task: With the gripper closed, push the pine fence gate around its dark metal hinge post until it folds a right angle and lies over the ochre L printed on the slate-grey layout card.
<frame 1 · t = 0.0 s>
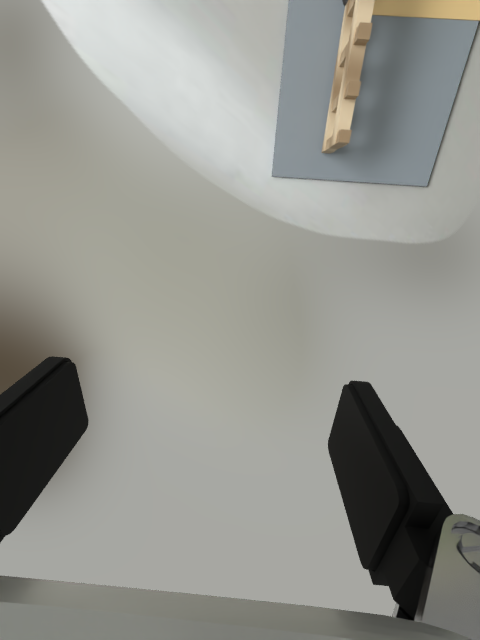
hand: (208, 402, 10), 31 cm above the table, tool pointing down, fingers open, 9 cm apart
fence fixed: (349, 0, 27), resting on layout card
layout card: (376, 42, 28), on the table
fence gate: (346, 74, 26), point 5 cm above the table, hinge at 0.0°
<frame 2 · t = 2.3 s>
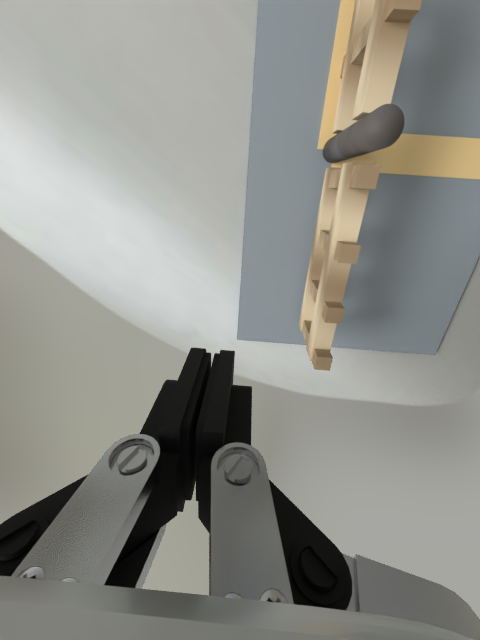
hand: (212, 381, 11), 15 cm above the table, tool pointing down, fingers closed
fence fixed: (332, 151, 20), resting on layout card
layout card: (369, 199, 21), on the table
fence gate: (327, 266, 19), point 5 cm above the table, hinge at 0.0°
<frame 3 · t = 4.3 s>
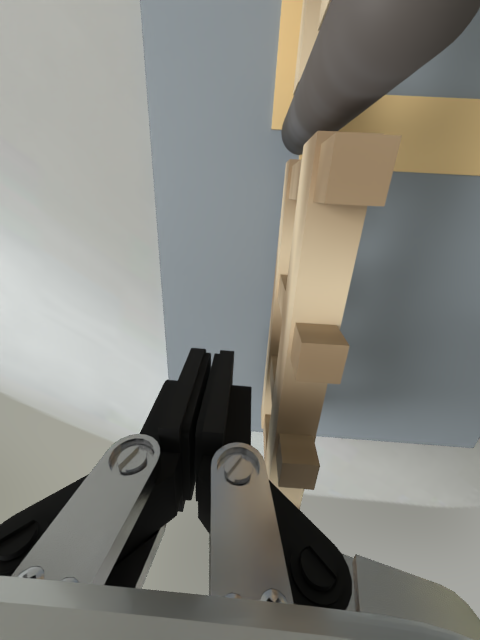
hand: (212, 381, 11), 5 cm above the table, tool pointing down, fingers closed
fence fixed: (300, 133, 11), resting on layout card
layout card: (368, 217, 12), on the table
fence gate: (291, 346, 10), point 5 cm above the table, hinge at 0.3°, touching gripper
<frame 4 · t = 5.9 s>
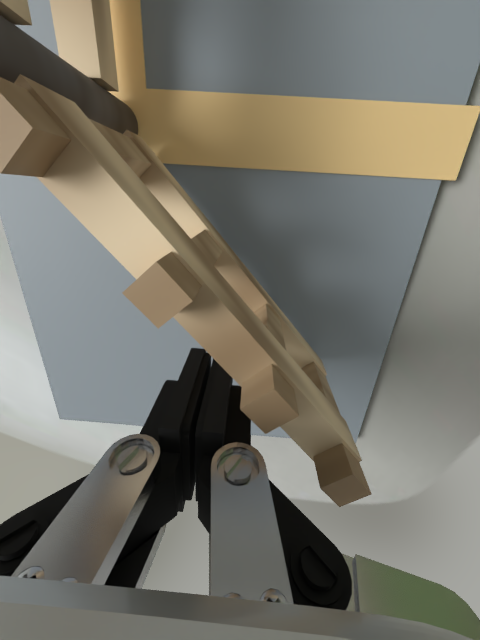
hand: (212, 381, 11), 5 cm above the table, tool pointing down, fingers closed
fence fixed: (124, 128, 11), resting on layout card
layout card: (208, 212, 12), on the table
fence gate: (227, 297, 9), point 5 cm above the table, hinge at 42.5°, touching gripper
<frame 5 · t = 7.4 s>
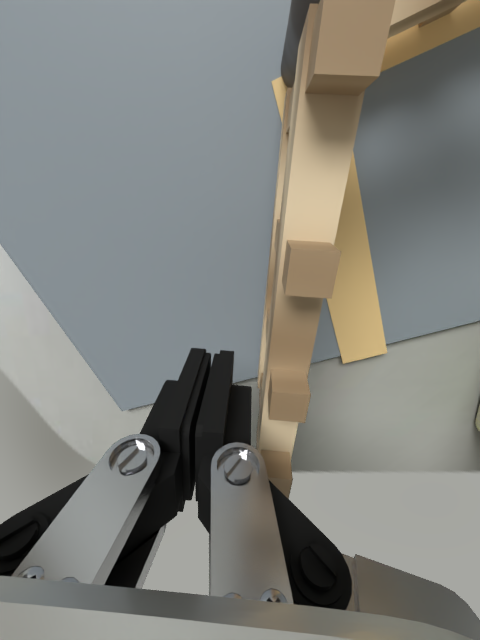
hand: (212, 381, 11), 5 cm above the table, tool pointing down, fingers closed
fence fixed: (300, 71, 10), resting on layout card
layout card: (256, 195, 12), on the table
fence gate: (287, 289, 10), point 5 cm above the table, hinge at 66.7°, touching gripper
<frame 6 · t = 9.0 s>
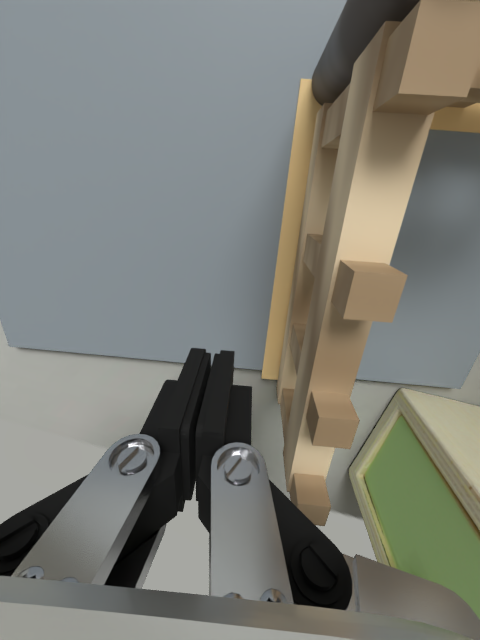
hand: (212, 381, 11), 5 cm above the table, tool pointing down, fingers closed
fence fixed: (329, 86, 10), resting on layout card
layout card: (244, 182, 12), on the table
fence gate: (320, 306, 9), point 5 cm above the table, hinge at 90.8°
toy refrigerator: (410, 437, 18), on the table
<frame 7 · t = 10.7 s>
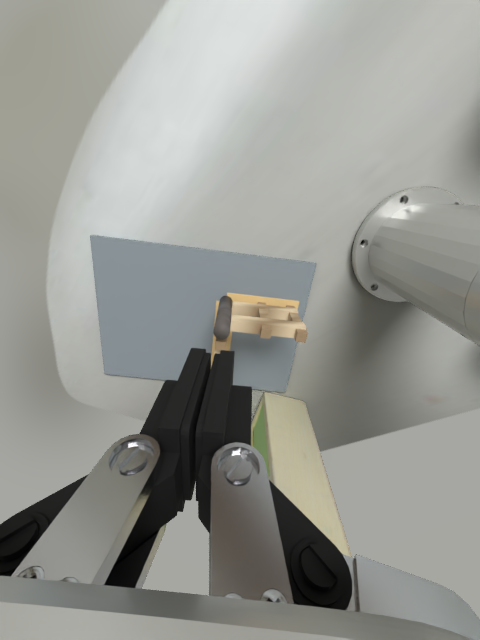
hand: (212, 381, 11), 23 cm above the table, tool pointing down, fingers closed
fence fixed: (226, 300, 34), resting on layout card
layout card: (200, 322, 35), on the table
fence gate: (219, 369, 33), point 5 cm above the table, hinge at 90.8°
toy refrigerator: (273, 413, 42), on the table
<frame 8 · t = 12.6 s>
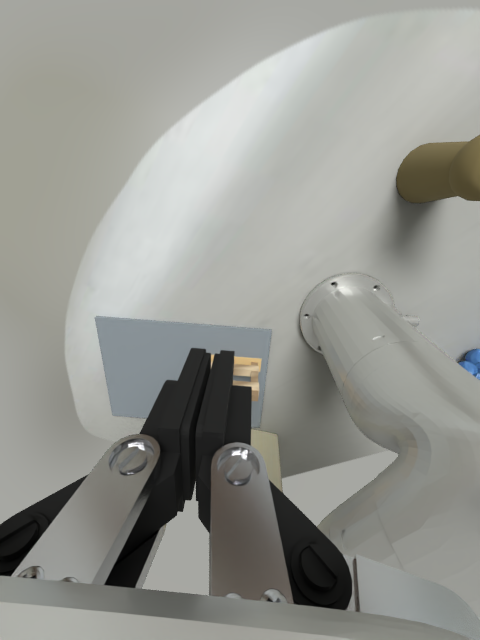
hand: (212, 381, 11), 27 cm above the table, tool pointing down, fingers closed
fence fixed: (203, 358, 42), resting on layout card
cork: (423, 174, 31), on the table
layout card: (185, 375, 44), on the table
toy refrigerator: (252, 443, 50), on the table
grapes: (471, 356, 40), on the table
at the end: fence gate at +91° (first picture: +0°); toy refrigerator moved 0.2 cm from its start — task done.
